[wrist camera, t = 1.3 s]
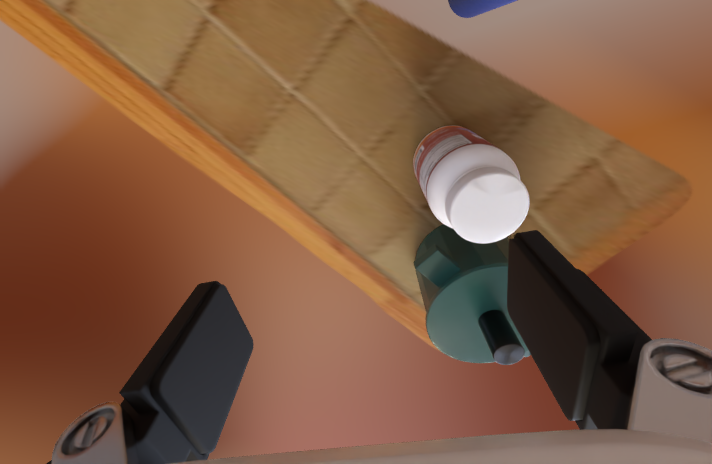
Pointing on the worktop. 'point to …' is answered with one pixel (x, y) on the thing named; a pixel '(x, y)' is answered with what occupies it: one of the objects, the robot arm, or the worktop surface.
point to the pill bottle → (470, 184)
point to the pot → (453, 259)
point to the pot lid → (475, 318)
